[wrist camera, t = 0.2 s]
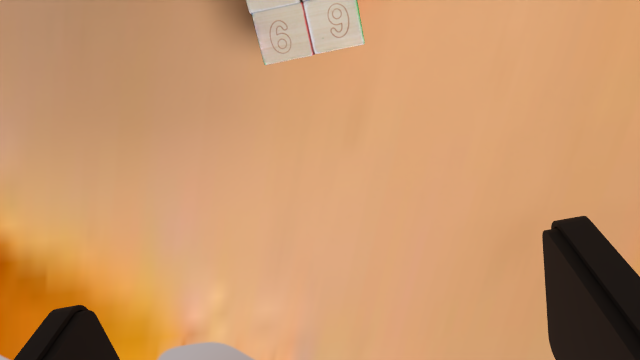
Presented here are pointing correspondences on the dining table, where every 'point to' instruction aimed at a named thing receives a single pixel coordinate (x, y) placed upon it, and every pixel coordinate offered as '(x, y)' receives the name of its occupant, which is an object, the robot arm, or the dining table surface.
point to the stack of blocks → (304, 27)
